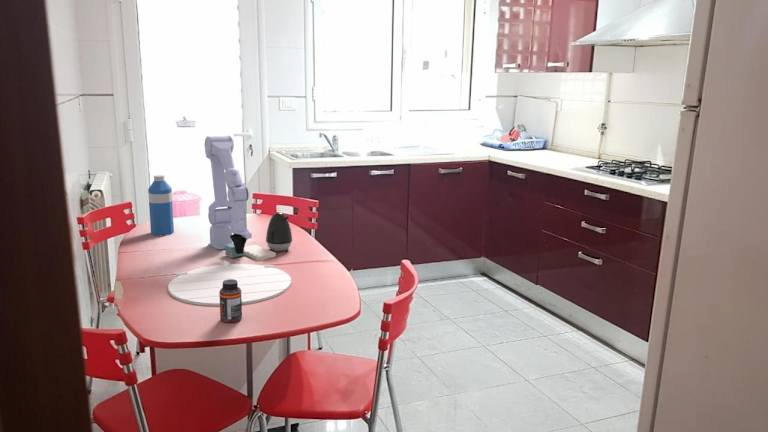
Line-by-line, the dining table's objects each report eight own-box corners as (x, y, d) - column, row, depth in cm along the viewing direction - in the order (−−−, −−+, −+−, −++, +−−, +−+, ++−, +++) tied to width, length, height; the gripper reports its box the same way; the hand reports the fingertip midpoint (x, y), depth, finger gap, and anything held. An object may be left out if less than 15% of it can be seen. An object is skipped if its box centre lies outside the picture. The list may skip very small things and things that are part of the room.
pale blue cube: (225, 254, 229) (225, 244, 229) (237, 252, 233) (236, 242, 232) (232, 257, 226) (231, 247, 225) (243, 255, 229) (243, 245, 228)
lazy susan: (166, 271, 210) (166, 262, 209) (278, 262, 223) (278, 253, 223) (170, 313, 173) (169, 302, 173) (303, 299, 187) (303, 288, 186)
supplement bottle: (217, 317, 170) (216, 279, 167) (238, 313, 173) (237, 276, 171) (224, 325, 165) (222, 286, 163) (245, 321, 168) (244, 282, 166)
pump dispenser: (279, 254, 232) (278, 216, 228) (260, 249, 238) (260, 212, 235) (297, 249, 240) (297, 212, 236) (279, 244, 246) (279, 208, 243)
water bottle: (150, 231, 262) (146, 174, 256) (172, 229, 266) (169, 173, 260) (151, 236, 253) (148, 178, 248) (175, 234, 257) (171, 177, 252)
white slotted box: (237, 251, 235) (237, 247, 234) (255, 248, 240) (255, 244, 240) (257, 260, 224) (257, 256, 224) (275, 256, 229) (275, 252, 229)
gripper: (219, 216, 226) (220, 250, 229) (239, 223, 215) (240, 259, 218) (236, 213, 230) (237, 247, 233) (256, 220, 220) (257, 256, 223)
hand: (239, 253), depth 226 cm, fingers closed
